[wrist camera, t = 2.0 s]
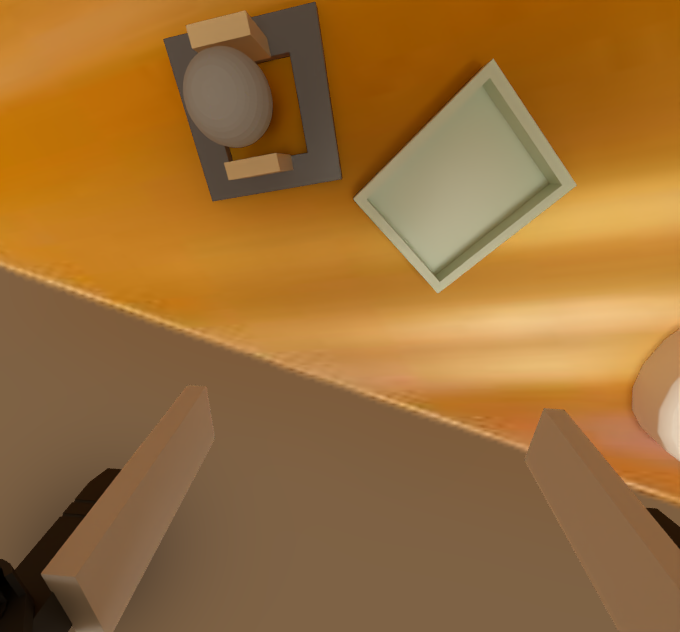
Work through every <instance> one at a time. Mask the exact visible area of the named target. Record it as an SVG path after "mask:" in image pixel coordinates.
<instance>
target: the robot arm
mask: <svg viewBox="0 0 680 632" xmlns="http://www.w3.org/2000/svg"><path fill="white" fill-rule="evenodd" d="M214 439H215V435H214V429H213V423H212V417H211V411H210V405H209V399H208V393H207V387H206V386H193V385H187V386H186V388H185V389H184V390H183V392H182V393H181V394H180V395H179V397H178V398H177V399H176V401H175V402H174V403H173V405H172V406H171V407H170V408H169V410H168V411H167V412H166V413H165V415H164V416H163V417H162V419H161V420H160V421H159V422H158V424H157V425H156V426H155V428H154V429H153V430H152V432H151V433H150V434H149V435H148V437H147V438H146V439H145V440H144V442H143V443H142V444H141V446H140V447H139V448H138V449H137V451H136V452H135V453H134V455H133V456H132V457H131V458H130V460H129V461H128V462H127V464H126V465H125V466H124V467H123V469H110V468H108V469H106V470H105V471H104V472H102V473H101V474H100V475H98V476H97V477H96V478H94V479H93V480H92V481H90V482H89V483H88V484H87V486H86V487H85V488H84V489H83V490H82V491H81V493H80V494H79V495H78V496H77V497H76V499H75V501H74V502H73V503H71V504H70V506H69V507H68V508H67V509H66V510H65V511H64V513H63V516H62V517H59V519H58V520H57V521H56V522H55V523H54V524H53V526H52V527H51V528H50V529H49V530H48V531H47V533H46V534H45V535H44V536H43V537H42V539H41V540H40V541H39V542H38V543H37V544H36V546H35V547H34V548H33V549H32V550H31V551H30V553H29V554H28V555H27V556H26V557H25V559H24V560H23V561H22V562H21V563H20V564H19V566H18V567H17V568H16V569H15V570H14V569H13V567H12V566H11V564H10V563H8V562H7V561H5V560H3V559H0V632H68V631H69V629H70V628H71V626H72V627H73V628H74V630H75V631H76V632H113V631H114V629H115V627H116V625H117V623H118V621H119V619H120V618H121V616H122V614H123V612H124V610H125V608H126V606H127V604H128V602H129V601H130V599H131V597H132V595H133V593H134V591H135V589H136V587H137V585H138V583H139V582H140V580H141V578H142V576H143V574H144V572H145V570H146V568H147V566H148V565H149V563H150V561H151V559H152V557H153V555H154V553H155V551H156V549H157V547H158V545H159V544H160V542H161V540H162V538H163V536H164V534H165V532H166V530H167V528H168V527H169V525H170V523H171V521H172V519H173V517H174V515H175V513H176V511H177V509H178V508H179V506H180V504H181V502H182V500H183V498H184V496H185V494H186V492H187V490H188V489H189V486H190V485H191V483H192V481H193V479H194V477H195V475H196V474H197V471H198V470H199V468H200V466H201V464H202V462H203V460H204V458H205V456H206V455H207V453H208V450H209V449H210V447H211V445H212V443H213V441H214ZM524 461H525V463H526V465H527V466H528V468H529V470H530V471H531V473H532V475H533V477H534V479H535V481H536V483H537V484H538V486H539V488H540V490H541V492H542V494H543V495H544V497H545V499H546V501H547V503H548V505H549V506H550V508H551V510H552V512H553V514H554V515H555V517H556V519H557V521H558V523H559V524H560V526H561V528H562V530H563V532H564V534H565V535H566V537H567V539H568V541H569V543H570V544H571V546H572V548H573V550H574V552H575V553H576V555H577V557H578V559H579V561H580V563H581V564H582V566H583V568H584V570H585V572H586V573H587V575H588V577H589V579H590V581H591V582H592V584H593V586H594V588H595V590H596V592H597V593H598V595H599V597H600V599H601V601H602V602H603V604H604V606H605V608H606V610H607V612H608V613H609V615H610V617H611V619H612V621H613V622H614V624H615V626H616V628H617V629H618V631H619V632H680V527H679V526H678V525H677V524H675V523H674V522H673V521H672V520H670V519H669V518H668V517H667V516H665V515H664V514H663V513H662V512H660V511H659V510H658V509H655V508H654V509H653V508H645V507H644V506H643V504H642V503H641V502H640V501H639V499H638V498H637V497H636V496H635V495H634V493H633V492H632V491H631V490H630V489H629V487H628V486H627V485H626V484H625V483H624V481H623V480H622V479H621V478H620V477H619V475H618V474H617V473H616V472H615V470H614V469H613V468H612V467H611V466H610V464H609V463H608V462H607V461H606V460H605V458H604V457H603V456H602V455H601V454H600V452H599V451H598V450H597V449H596V447H595V446H594V445H593V444H592V443H591V441H590V440H589V439H588V438H587V437H586V435H585V434H584V433H583V432H582V431H581V429H580V428H579V427H578V426H577V425H576V423H575V422H574V421H573V420H572V418H571V417H570V416H569V415H568V414H567V412H566V411H565V410H560V409H545V408H544V409H543V412H542V415H541V417H540V420H539V422H538V425H537V428H536V430H535V433H534V436H533V438H532V441H531V444H530V446H529V449H528V451H527V454H526V457H525V459H524Z"/></svg>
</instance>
